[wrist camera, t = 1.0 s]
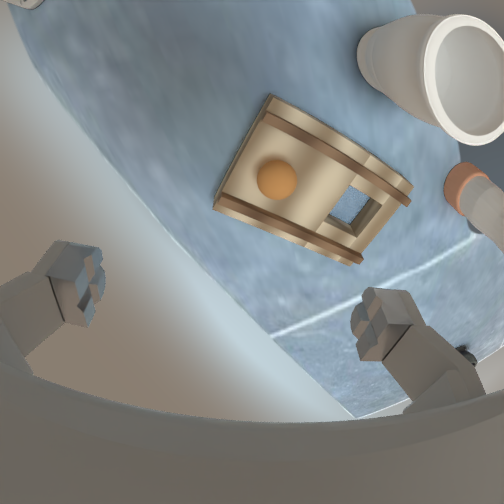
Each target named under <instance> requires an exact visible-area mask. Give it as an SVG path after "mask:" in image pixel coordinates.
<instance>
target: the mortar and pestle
mask: <svg viewBox="0 0 504 504" xmlns="http://www.w3.org/2000/svg"><path fill="white" fill-rule="evenodd" d="M456 350H457V351H458V352H459V353H460V354H462V355H463V356H464V357H465V358H466V359H467V360H468V361H469V362H470V363H471V364H472V365H473V366H474V367H475V366H476V364H477V363H478V362H477V360H476V358H475V357H474V355H473V354H471V353H470V352H468V351H465V348H464V347H463V346H460V347H457V348H456Z"/></svg>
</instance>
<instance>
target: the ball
mask: <svg viewBox="0 0 504 504" xmlns="http://www.w3.org/2000/svg"><path fill="white" fill-rule="evenodd" d="M257 185H258V188H259V190H260V191H261V193H262V194H263V195H264V196H266V197H267V198H270V199H273V200H281V199H285V198H287V197H288V196H290V195H291V194H292V193H293V192H294V190H295V188H296V185H297V175H296V172H295V170H294V169H293V167H292V166H291V165H289V164H288V163H286V162H284V161H281V160H273V161H269V162H267V163H265V164H264V165H263V166H262V167H261V168H260V170H259V172H258V174H257Z"/></svg>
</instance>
